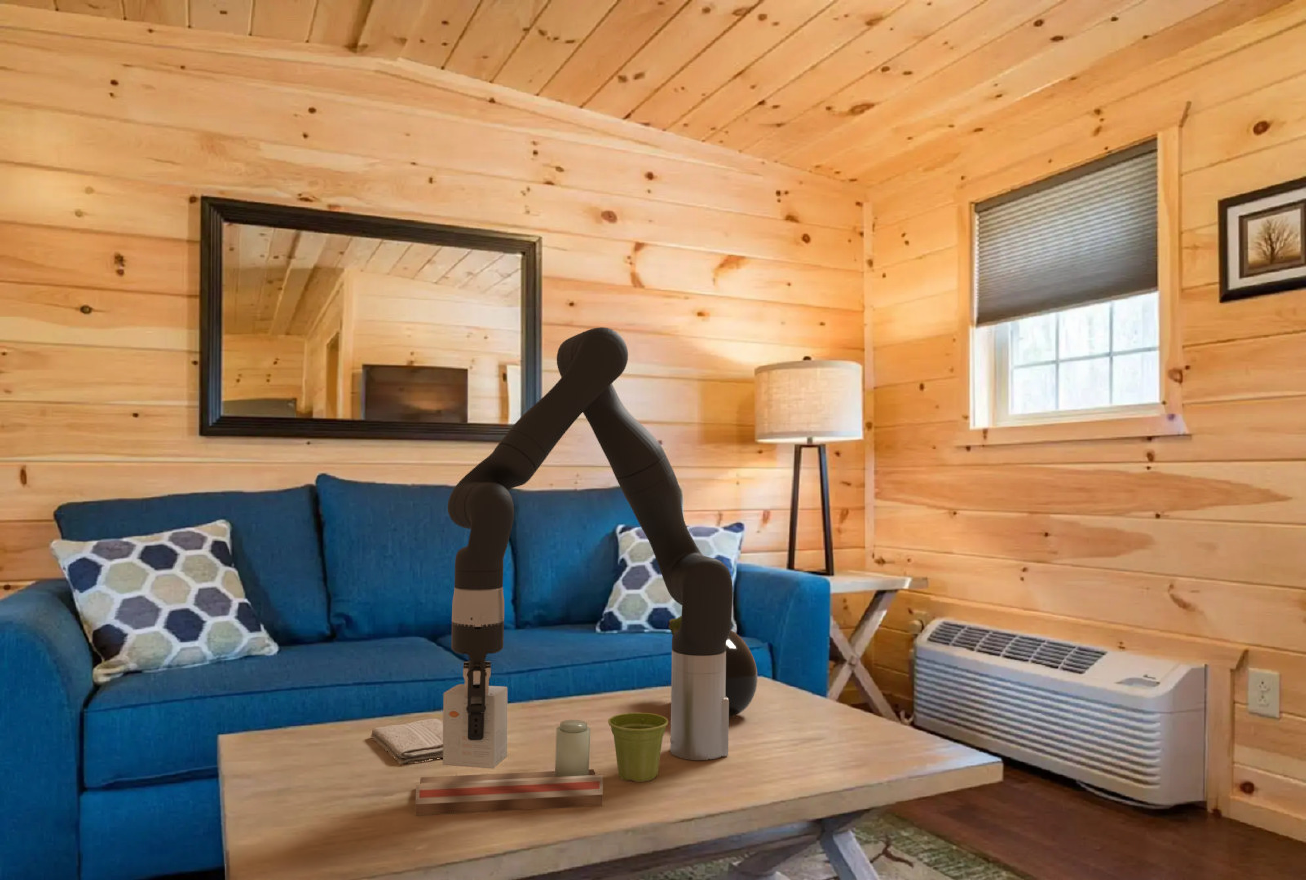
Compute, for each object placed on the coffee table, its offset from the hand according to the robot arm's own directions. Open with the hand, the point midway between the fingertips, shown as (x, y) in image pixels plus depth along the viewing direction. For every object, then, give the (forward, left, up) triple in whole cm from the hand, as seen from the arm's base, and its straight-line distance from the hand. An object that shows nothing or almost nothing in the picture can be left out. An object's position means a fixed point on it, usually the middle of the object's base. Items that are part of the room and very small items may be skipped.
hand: (475, 731), depth 136 cm
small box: (0, 0, -5) cm, 5 cm away
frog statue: (-45, -42, -10) cm, 63 cm away
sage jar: (-14, +1, -8) cm, 16 cm away
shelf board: (-5, +1, -9) cm, 11 cm away
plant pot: (-25, -5, -10) cm, 27 cm away
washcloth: (+10, -26, -10) cm, 29 cm away
